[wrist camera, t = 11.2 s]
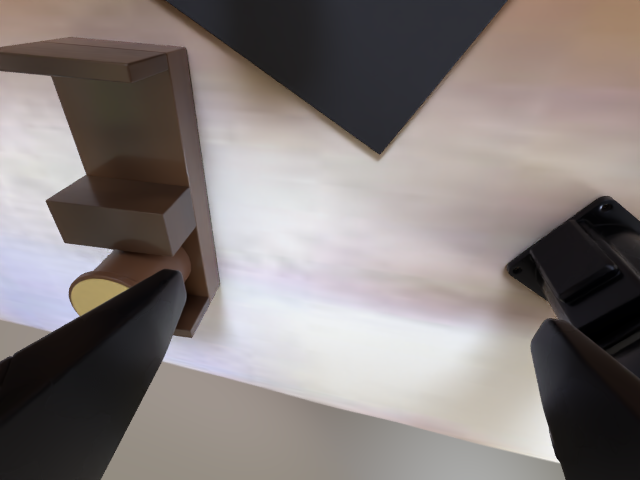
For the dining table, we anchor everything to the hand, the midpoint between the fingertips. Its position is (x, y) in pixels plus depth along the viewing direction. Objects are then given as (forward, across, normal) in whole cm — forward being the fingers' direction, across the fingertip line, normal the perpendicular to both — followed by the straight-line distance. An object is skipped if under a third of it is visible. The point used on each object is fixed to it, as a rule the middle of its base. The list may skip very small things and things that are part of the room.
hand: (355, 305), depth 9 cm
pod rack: (+12, +12, +4) cm, 18 cm away
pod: (+10, +12, +8) cm, 18 cm away
